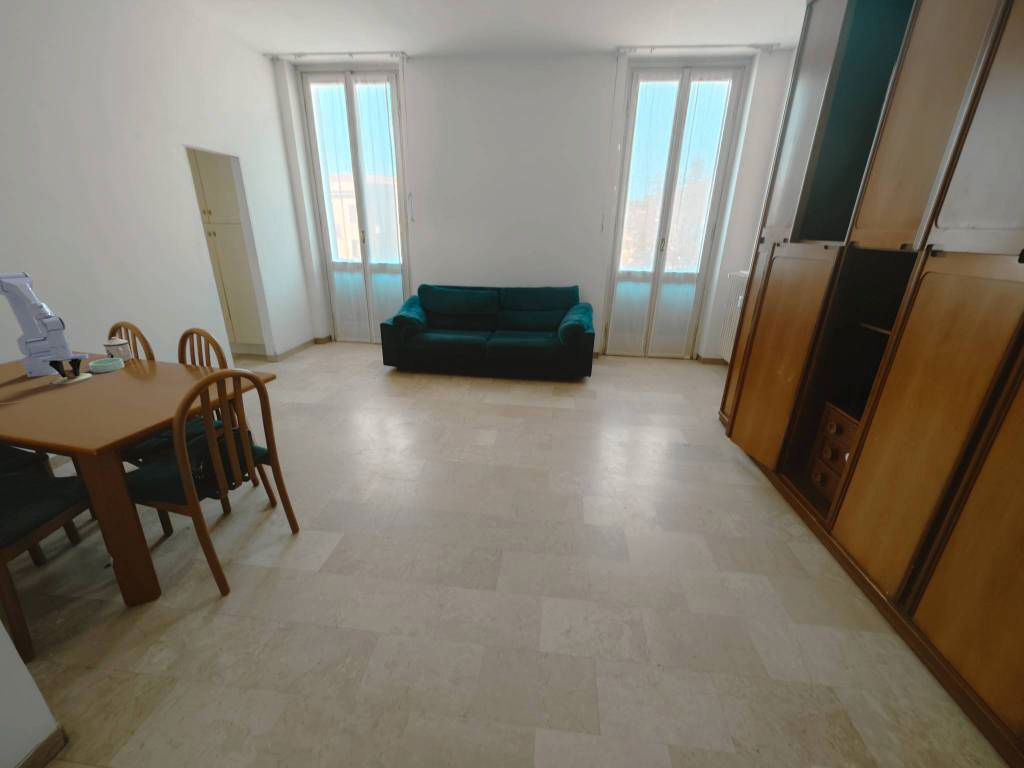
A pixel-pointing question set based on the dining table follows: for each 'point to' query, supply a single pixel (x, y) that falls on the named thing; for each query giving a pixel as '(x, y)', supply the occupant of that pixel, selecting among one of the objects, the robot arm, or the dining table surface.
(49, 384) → the mat
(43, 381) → the dining table surface
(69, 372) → the lid
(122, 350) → the teacup with lid
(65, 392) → the dining table surface
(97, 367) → the bowl
